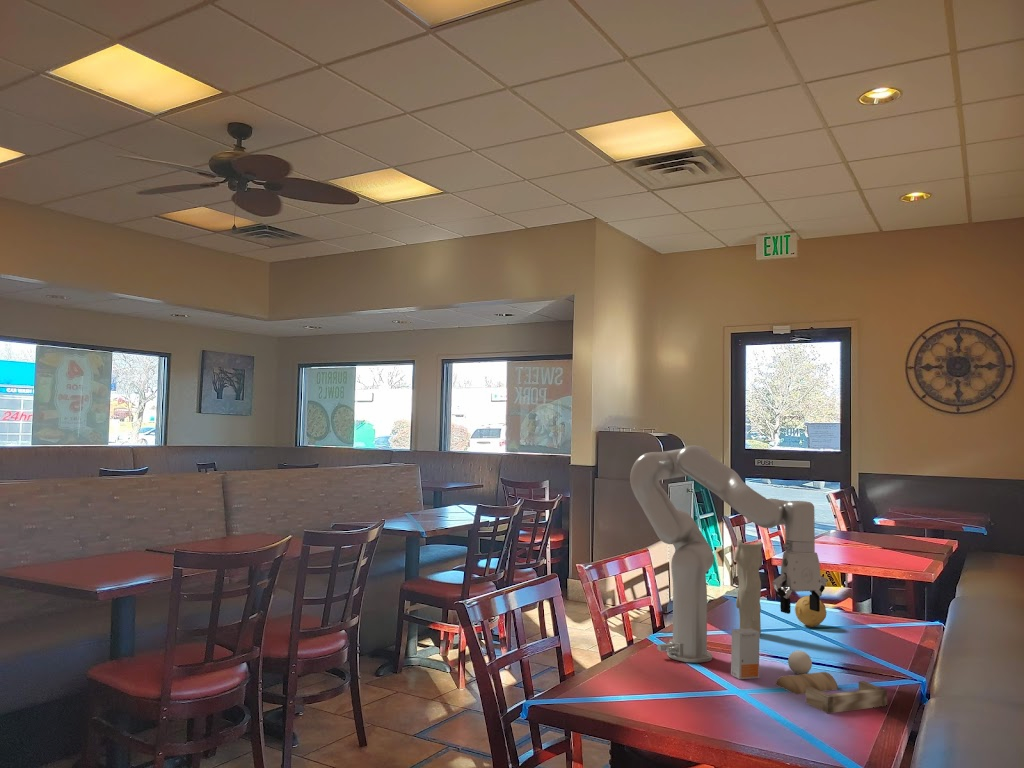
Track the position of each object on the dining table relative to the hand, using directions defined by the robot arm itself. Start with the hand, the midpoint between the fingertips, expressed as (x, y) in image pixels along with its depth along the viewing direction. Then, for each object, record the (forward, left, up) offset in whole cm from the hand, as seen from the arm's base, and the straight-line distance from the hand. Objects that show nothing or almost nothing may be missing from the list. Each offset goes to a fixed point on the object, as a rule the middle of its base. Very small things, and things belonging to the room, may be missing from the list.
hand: (800, 611), depth 209 cm
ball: (0, 0, -13) cm, 13 cm away
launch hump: (-6, -10, -21) cm, 24 cm away
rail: (-6, -23, -16) cm, 29 cm away
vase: (+14, +40, -16) cm, 45 cm away
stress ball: (+41, +43, -17) cm, 62 cm away
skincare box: (-16, +2, -17) cm, 23 cm away
